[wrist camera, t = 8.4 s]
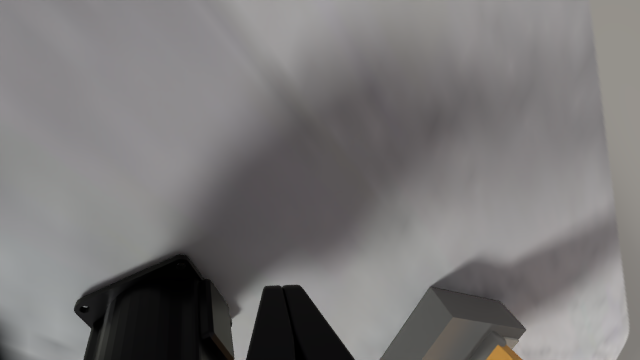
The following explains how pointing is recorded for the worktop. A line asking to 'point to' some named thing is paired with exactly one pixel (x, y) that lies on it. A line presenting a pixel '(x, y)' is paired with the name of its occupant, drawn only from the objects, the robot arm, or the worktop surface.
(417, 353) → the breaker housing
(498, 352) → the orange square tile
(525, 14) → the worktop surface
